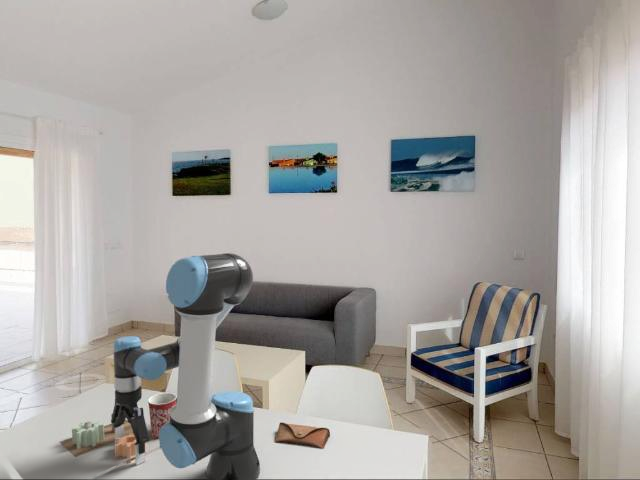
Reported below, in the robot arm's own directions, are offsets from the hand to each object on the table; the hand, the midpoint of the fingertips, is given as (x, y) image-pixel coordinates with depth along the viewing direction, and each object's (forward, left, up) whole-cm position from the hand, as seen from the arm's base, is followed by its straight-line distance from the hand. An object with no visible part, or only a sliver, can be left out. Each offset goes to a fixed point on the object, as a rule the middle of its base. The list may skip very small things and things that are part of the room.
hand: (129, 454), depth 135 cm
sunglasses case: (-34, -42, -1) cm, 54 cm away
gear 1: (+15, +6, +1) cm, 17 cm away
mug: (+3, -14, 0) cm, 14 cm away
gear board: (+15, +2, 0) cm, 15 cm away
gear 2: (0, 0, 0) cm, 0 cm away
